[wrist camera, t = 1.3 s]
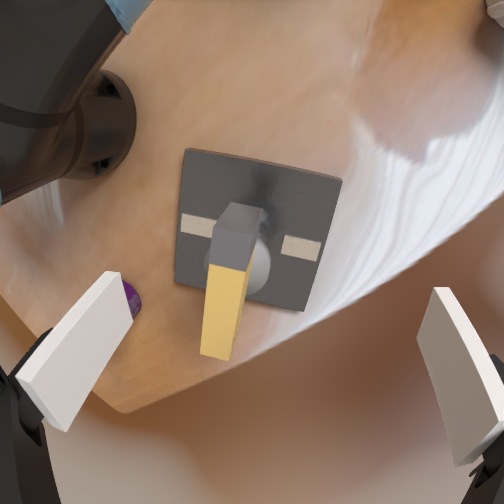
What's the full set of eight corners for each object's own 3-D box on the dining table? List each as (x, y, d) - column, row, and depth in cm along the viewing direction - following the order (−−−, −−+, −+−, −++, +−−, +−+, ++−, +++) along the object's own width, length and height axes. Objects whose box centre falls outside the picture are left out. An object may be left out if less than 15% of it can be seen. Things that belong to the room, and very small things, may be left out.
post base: (178, 276, 43) (158, 304, 37) (189, 147, 35) (165, 157, 29) (303, 305, 42) (302, 339, 36) (340, 178, 34) (349, 194, 28)
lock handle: (204, 301, 35) (181, 349, 28) (217, 192, 29) (189, 222, 22) (259, 314, 35) (247, 366, 28) (283, 206, 29) (277, 241, 22)
